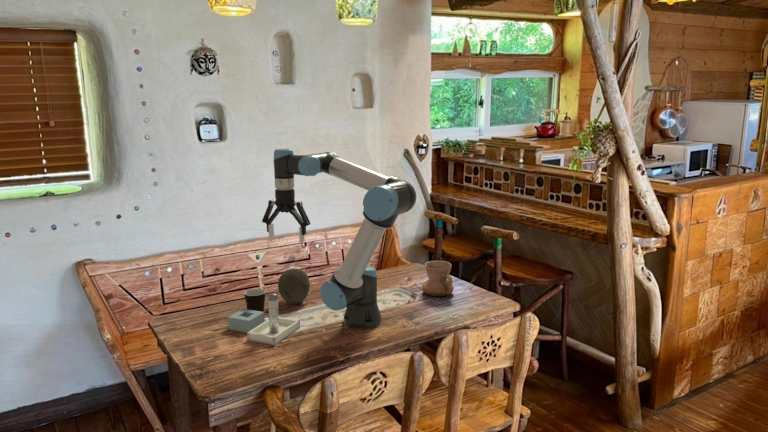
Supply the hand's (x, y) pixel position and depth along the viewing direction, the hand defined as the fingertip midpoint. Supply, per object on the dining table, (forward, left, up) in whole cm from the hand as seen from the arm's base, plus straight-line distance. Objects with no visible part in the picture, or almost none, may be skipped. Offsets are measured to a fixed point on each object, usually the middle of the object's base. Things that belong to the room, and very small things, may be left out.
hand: (286, 241), depth 235 cm
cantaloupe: (+8, -17, -33) cm, 38 cm away
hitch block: (+11, +14, -32) cm, 37 cm away
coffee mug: (+15, +1, -33) cm, 36 cm away
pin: (-3, +16, -32) cm, 35 cm away
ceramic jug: (-47, -52, -33) cm, 77 cm away
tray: (-3, +16, -32) cm, 36 cm away
